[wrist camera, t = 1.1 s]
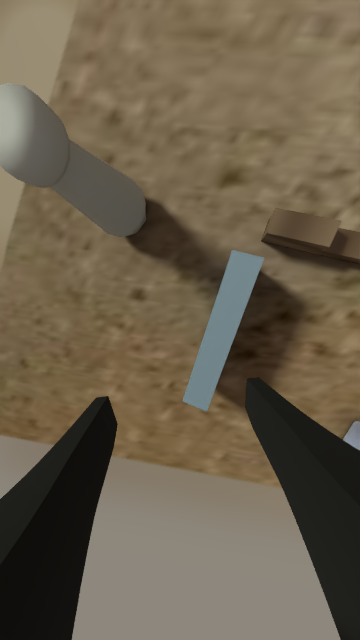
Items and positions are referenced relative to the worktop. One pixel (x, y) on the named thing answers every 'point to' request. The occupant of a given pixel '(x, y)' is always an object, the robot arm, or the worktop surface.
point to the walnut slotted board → (312, 235)
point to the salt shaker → (64, 164)
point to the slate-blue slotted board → (222, 327)
